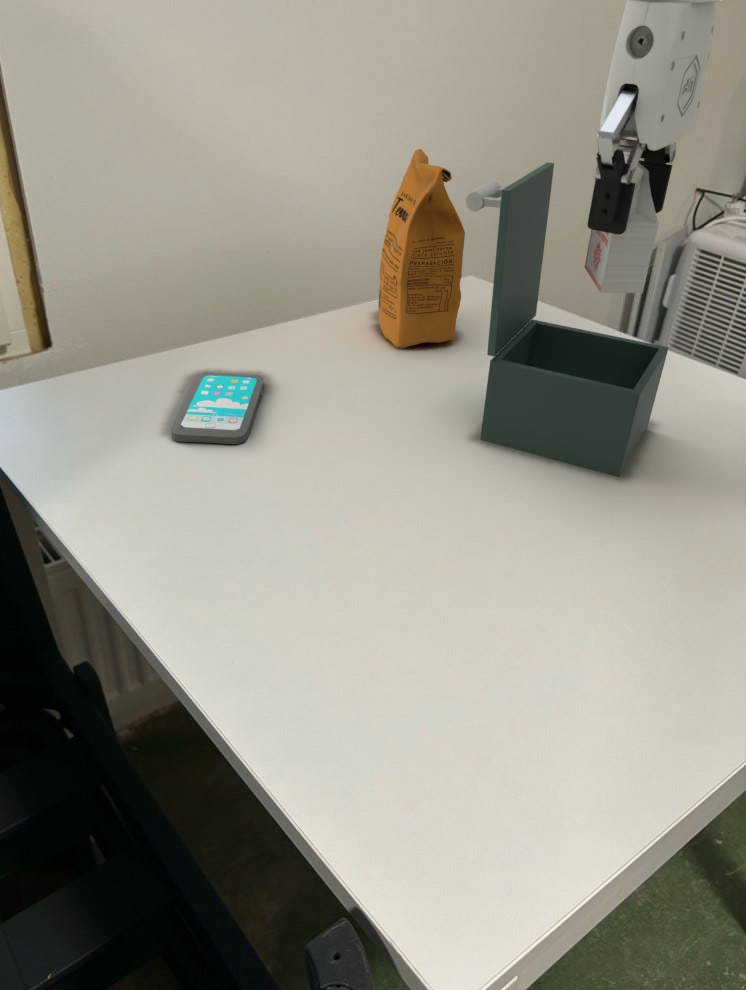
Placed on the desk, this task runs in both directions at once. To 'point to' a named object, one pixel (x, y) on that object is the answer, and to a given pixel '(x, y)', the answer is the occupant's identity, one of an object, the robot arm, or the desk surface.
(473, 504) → the desk surface
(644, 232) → the white paper food bag
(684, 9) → the robot arm
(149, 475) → the desk surface
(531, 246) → the green box lid
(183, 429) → the smartphone
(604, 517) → the desk surface
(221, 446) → the desk surface
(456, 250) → the coffee package
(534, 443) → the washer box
